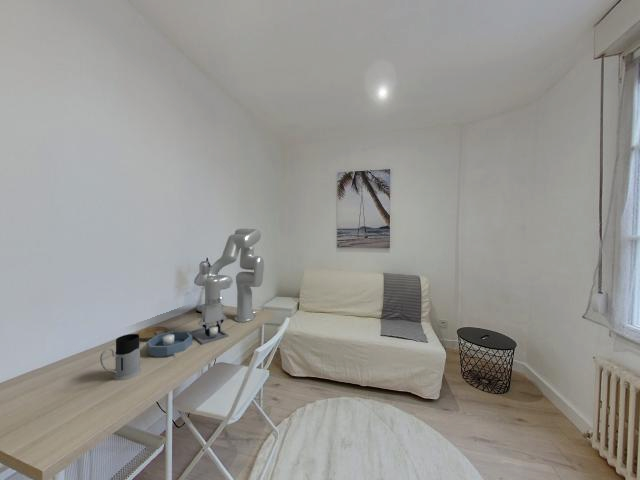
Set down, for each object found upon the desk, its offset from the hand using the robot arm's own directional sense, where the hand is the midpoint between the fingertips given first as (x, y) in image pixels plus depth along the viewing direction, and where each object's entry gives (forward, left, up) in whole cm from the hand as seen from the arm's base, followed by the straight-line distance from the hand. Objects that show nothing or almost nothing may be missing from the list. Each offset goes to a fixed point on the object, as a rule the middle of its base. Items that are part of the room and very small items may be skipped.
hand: (212, 333), depth 134 cm
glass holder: (+41, +10, -3) cm, 42 cm away
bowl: (+20, -4, -3) cm, 20 cm away
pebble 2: (0, 0, -1) cm, 1 cm away
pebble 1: (+19, -7, -2) cm, 21 cm away
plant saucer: (+23, -26, -3) cm, 34 cm away
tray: (+1, -5, -3) cm, 6 cm away
